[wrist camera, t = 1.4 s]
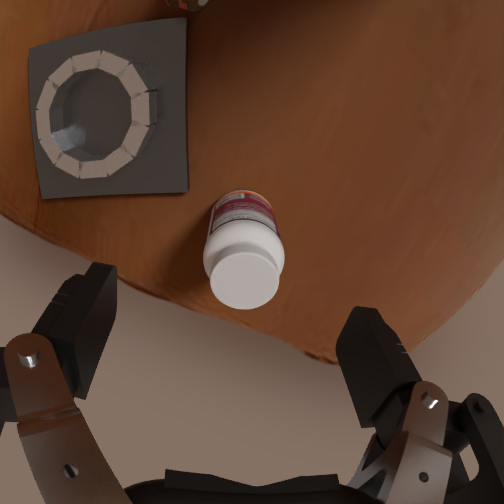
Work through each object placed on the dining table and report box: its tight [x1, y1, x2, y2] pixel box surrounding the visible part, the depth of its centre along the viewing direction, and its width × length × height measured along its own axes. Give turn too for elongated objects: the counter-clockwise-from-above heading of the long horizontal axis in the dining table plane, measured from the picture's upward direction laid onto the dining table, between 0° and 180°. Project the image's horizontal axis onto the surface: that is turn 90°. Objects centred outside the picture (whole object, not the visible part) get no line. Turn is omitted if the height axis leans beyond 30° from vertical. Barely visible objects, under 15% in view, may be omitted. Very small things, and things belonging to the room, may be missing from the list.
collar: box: [29, 17, 189, 199], centre depth 24 cm, size 16×16×4 cm
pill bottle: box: [203, 190, 284, 309], centre depth 27 cm, size 6×6×11 cm
